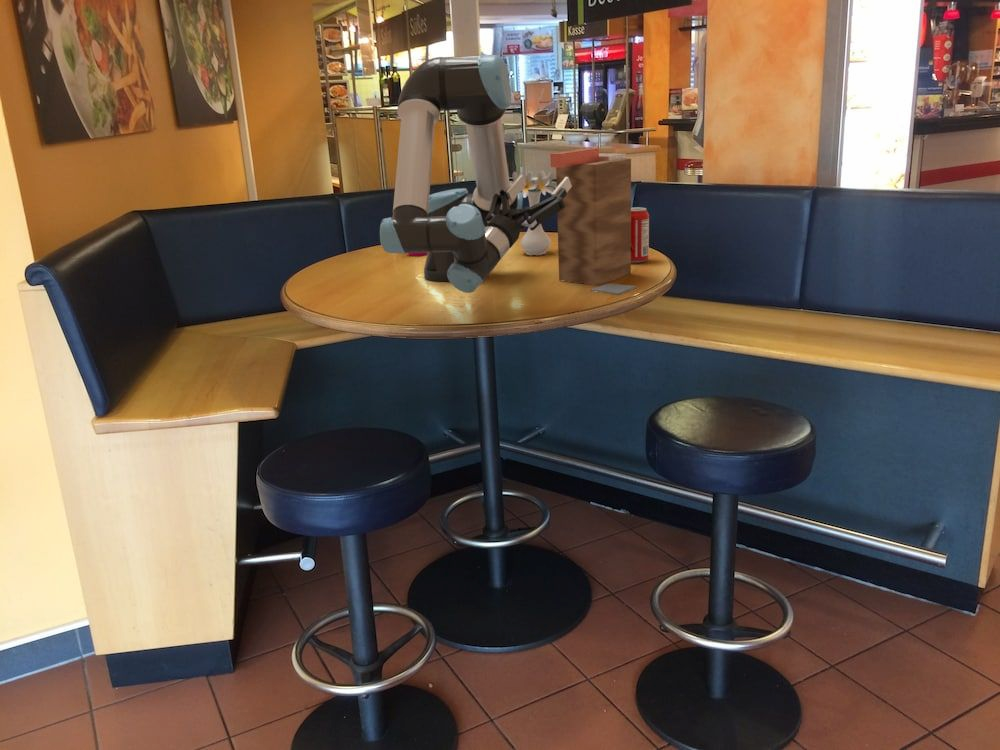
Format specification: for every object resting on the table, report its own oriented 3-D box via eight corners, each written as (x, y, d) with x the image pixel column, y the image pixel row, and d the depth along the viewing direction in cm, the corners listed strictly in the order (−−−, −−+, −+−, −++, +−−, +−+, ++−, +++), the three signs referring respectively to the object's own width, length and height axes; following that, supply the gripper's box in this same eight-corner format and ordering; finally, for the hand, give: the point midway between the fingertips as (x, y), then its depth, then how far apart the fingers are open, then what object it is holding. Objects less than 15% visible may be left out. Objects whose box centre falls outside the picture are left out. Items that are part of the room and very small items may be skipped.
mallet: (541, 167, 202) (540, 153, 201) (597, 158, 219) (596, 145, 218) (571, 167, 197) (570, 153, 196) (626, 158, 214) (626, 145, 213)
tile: (590, 293, 206) (590, 289, 206) (608, 286, 212) (608, 282, 212) (618, 297, 201) (618, 292, 201) (635, 290, 207) (635, 286, 207)
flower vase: (570, 255, 250) (568, 170, 242) (509, 259, 249) (505, 174, 241) (565, 247, 262) (563, 166, 254) (507, 251, 262) (503, 170, 254)
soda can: (648, 264, 233) (648, 210, 228) (619, 264, 234) (619, 210, 230) (648, 258, 240) (649, 206, 235) (621, 259, 242) (621, 207, 237)
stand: (559, 280, 219) (556, 163, 209) (593, 269, 230) (592, 157, 220) (596, 285, 211) (595, 164, 201) (630, 273, 222) (631, 158, 213)
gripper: (463, 246, 198) (511, 191, 207) (546, 255, 182) (593, 195, 191) (450, 221, 193) (500, 166, 202) (534, 228, 177) (583, 168, 187)
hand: (545, 180), depth 197 cm, fingers open, 13 cm apart
